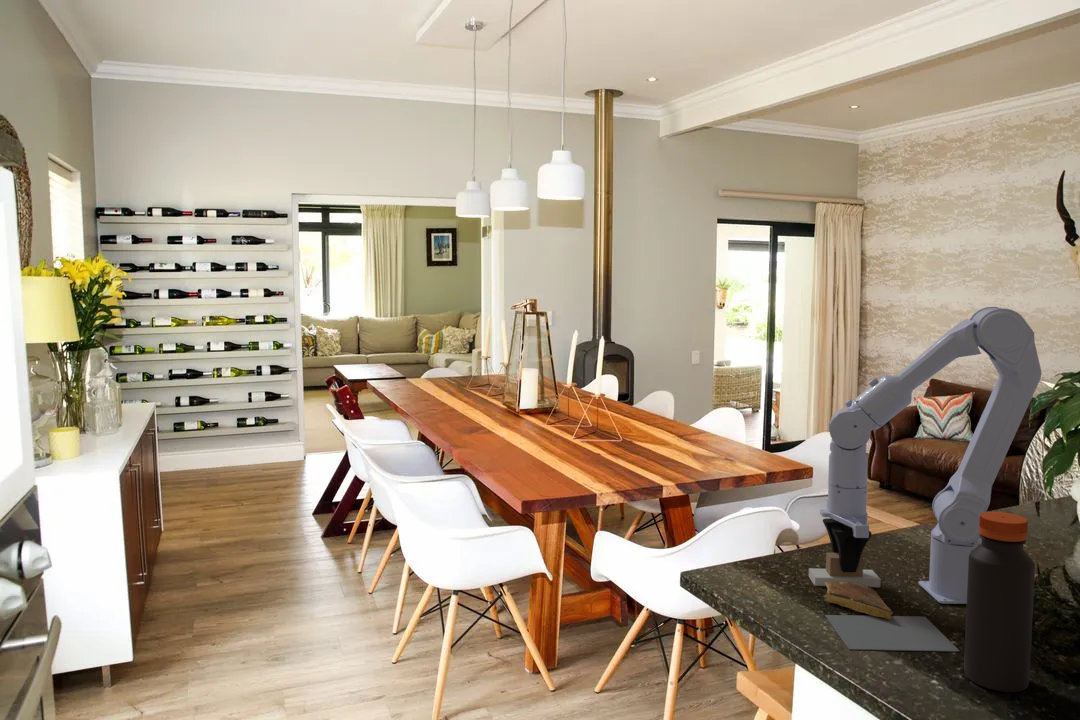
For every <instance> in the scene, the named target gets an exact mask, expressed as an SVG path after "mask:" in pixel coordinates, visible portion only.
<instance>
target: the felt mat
mask: <svg viewBox="0 0 1080 720" xmlns="http://www.w3.org/2000/svg"><path fill="white" fill-rule="evenodd" d="M824 616H825V618H826V619H827V621H828V622H829V624H830V626H832V628H833V630H835V632H836V633H837V634H838V636H839V638H840V639H841V640H842V642H843V644H844V645H845V647H846V648H847V649H848V650H849V651H852V650H854V651H888V652H889V651H897V652H898V651H900V652H902V651H903V652H939V653H940V652H943V653H944V652H945V653H947V652H948V653H953V652H954V653H955V652H956V653H960V652H961V651H960V650H959V649H958V647H956V646H955V644H953V643H952V642H951V641H950V640H949V638H947V636H946V635H944V634H943V633H942V632H941V631H940V630H939V629H938V627H936V625H934V624H933V623H932V622H931V620H929V619H928V618H927V617H926V616H917V615H915V616H910V615H908V616H907V615H905V616H904V615H902V616H901V615H897V616H896V615H891V619H890V620H889V619H886V618H883V617H876V616H872V615H859V614H858V615H857V614H856V615H854V614H853V615H852V614H851V615H850V614H849V615H847V614H845V615H844V614H843V615H842V614H825V615H824Z"/></svg>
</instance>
